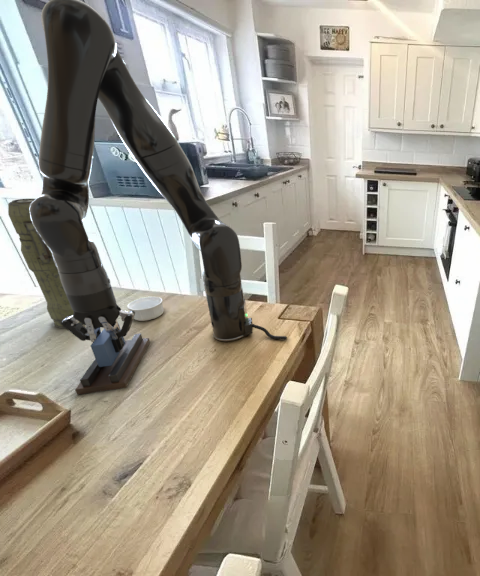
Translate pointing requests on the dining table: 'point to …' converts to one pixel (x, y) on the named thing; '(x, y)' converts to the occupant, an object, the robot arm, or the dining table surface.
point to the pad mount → (114, 368)
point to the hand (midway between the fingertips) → (111, 350)
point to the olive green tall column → (40, 261)
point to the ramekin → (146, 308)
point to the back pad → (104, 349)
